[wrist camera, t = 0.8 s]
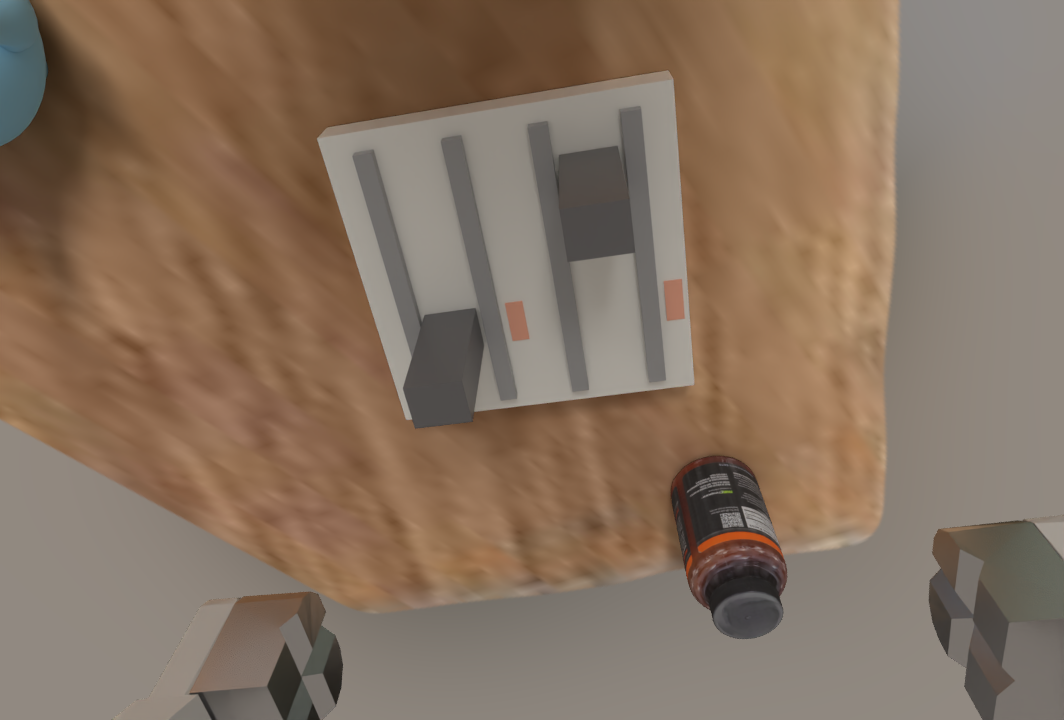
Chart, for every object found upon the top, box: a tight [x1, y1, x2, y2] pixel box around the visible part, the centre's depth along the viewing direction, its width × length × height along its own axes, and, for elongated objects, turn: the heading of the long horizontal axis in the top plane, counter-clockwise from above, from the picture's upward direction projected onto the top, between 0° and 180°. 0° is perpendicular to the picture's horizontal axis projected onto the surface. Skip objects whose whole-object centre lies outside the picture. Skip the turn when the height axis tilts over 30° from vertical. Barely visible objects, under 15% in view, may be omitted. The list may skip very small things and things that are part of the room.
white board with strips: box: [317, 70, 694, 420], centre depth 43 cm, size 18×18×3 cm
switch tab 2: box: [559, 146, 635, 262], centre depth 36 cm, size 2×3×8 cm
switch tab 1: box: [403, 308, 484, 429], centre depth 42 cm, size 2×3×8 cm
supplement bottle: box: [671, 456, 787, 639], centre depth 49 cm, size 6×6×11 cm
